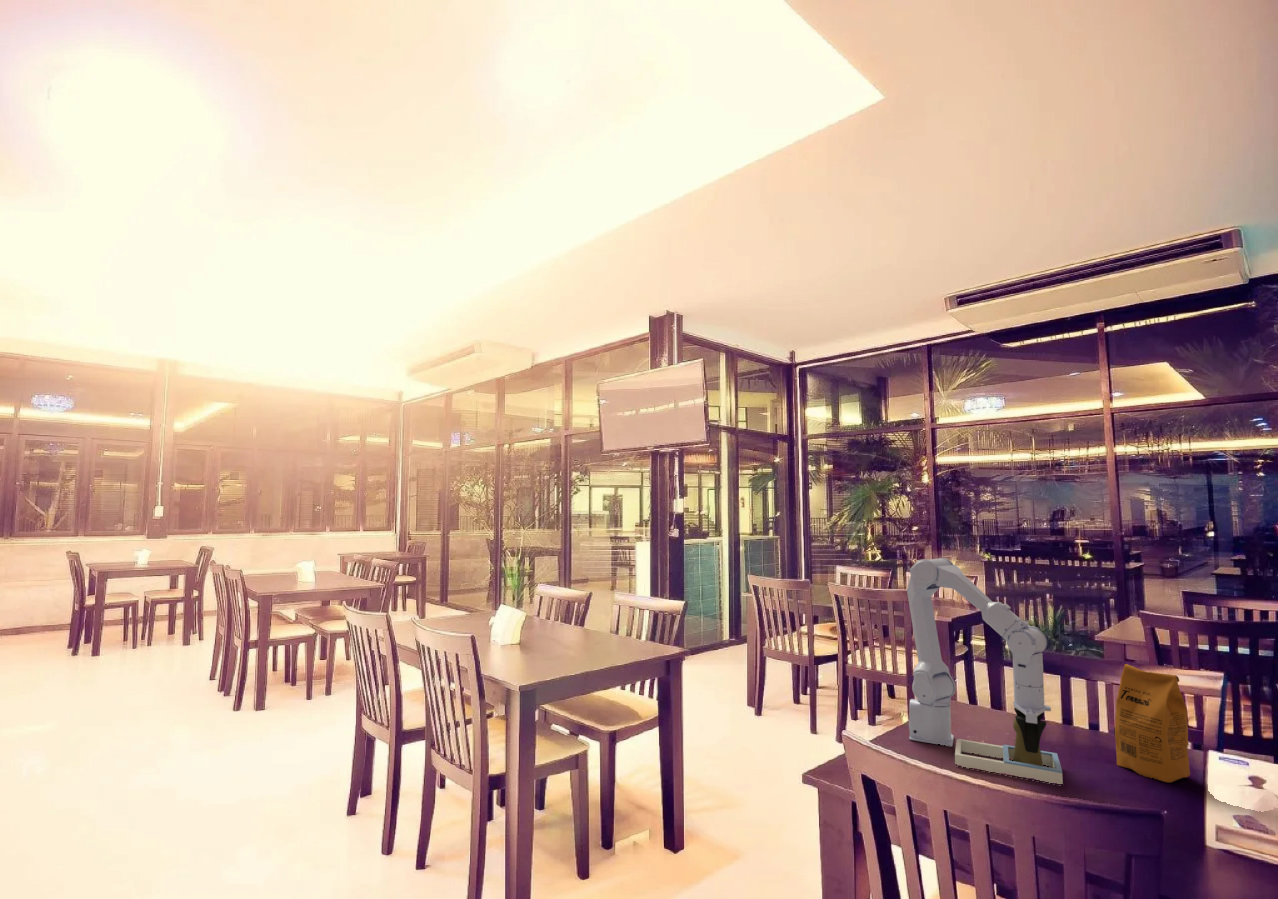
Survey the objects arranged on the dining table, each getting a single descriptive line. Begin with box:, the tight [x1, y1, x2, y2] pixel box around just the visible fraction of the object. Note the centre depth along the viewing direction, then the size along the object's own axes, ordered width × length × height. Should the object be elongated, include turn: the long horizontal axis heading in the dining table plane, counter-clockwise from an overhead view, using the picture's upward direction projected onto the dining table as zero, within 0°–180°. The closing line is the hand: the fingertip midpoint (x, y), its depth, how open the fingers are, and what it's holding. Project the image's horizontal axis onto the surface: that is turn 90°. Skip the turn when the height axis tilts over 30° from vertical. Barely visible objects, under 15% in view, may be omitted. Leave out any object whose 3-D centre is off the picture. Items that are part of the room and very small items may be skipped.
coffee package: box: [1114, 663, 1191, 783], centre depth 142 cm, size 10×12×22 cm
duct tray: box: [954, 738, 1064, 785], centre depth 143 cm, size 20×11×3 cm, turn 62°
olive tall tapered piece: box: [1012, 717, 1043, 766], centre depth 141 cm, size 6×6×11 cm
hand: (1030, 747), depth 141 cm, fingers closed on olive tall tapered piece, 5 cm apart
